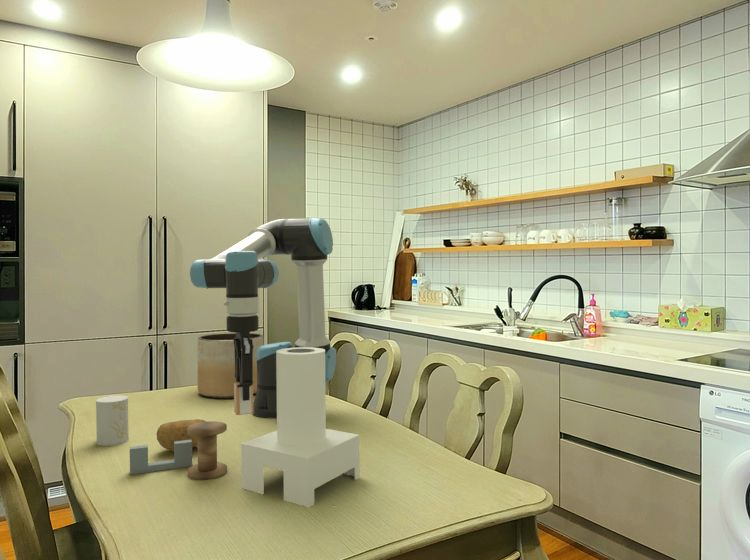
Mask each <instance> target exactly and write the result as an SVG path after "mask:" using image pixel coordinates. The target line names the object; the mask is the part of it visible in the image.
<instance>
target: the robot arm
mask: <svg viewBox="0 0 750 560" xmlns="http://www.w3.org/2000/svg"><path fill="white" fill-rule="evenodd" d="M333 246H334V239H333V233H332V229H331V227H330V225H329V223H328V222H327V220H325V219H324V218H318V217H316V218H315V217H309V218H308V217H307V218H281V219H279V218H278V219H275V220H272V221H269V222H267V223H264V224H262V225H260V226H258V227H256V228H254V229H252V230H251V231H250V232H249V233H248V235H247V237H245V238H244V239H242V240H241V241H239V242H237V243H236V244H234V245H232V246H230V247H229V248H227V249H226V250H224V251H223V252H220V253H219V254H217V255H216V256H213V257H212V258H209V259H206V258H203V259H196V260H194V261H193V262H192V264H191V265H190V269H189V278H190V281H191V284H192V285H193V286H194V287H195V288H202V289H206V290H207V289H225V290H226V292H225V297H226V301H223V305H224V306H226V314H227V315H228V316H226V331H227V333H236V338H234V340H233V342H234V354H235V378H236V382H238V383H240V385H237V388H238V387H239V405H240V414H244V415H248V414H247V413H252V408H251V385H253V342H252V339H250V333H255V332H256V331H257V332H258V330H259V327H260V326H259V316H258V314H259V289H267V288H269V287H272V286H273V285H275V283H276V282H277V281H278V279H279V275H280V274H279V268H278V266H277V265H276V263H275V262H274V261H273V260H271V259H267V258H269V257H270V256H274V255H290V256H291V257H290V258H291V259H290V260H291V261H292V262H293V263H292V264H294V265H295V266H296V285H297V286H296V289H297V290H296V291H297V310H298V311H297V312H298V331H299V332H298V334H299V336H298V337H299V338H298V339H296V341H295V342H294V346H293V344H292V342H291V341H282V342H272V343H267V344H263V346H261V347H259V348H258V350H257V359H256V361H257V392H256V394H255V396H254V398H253V414H252V415H253V416H256V417H260V418H277V378H276V351H277V350H280V349H285V348H296V347H313V348H322V349H325V384H326V383H328V382H330V381H331V379H333V376H334V373H335V370H336V366H337V360H338V359H337V357H338V356H337V350H336V348H335V347H332V346H331V340H330V339H328V338H327V336H326V317H325V290H324V289H325V288H324V286H325V285H324V264H325V263H326V262H327V261H328V255H331V254H332V252H333Z"/></svg>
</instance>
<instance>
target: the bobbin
mask: <svg viewBox="0 0 750 560" xmlns="http://www.w3.org/2000/svg"><path fill="white" fill-rule="evenodd" d="M227 427H228V426H227V424H226V423H225V422H222V421H210V420H209V421H206V422H200V423H196V424H192V425H190V426H188V427H187V434H188V435H191V436H197V444H198V445H197V463H196V464H194V465H192V466H190V467H188V469H187V477H188V478H189V479H191V480H199V481H203V480H204V481H205V480H206V481H207V480H212V479H213V480H214V479H217V478H221V477H222V476H225V475H226V473H227V472H228V465H227V464H226V463H223V462H219V461H218V439H217V438H218V437H217V436H218V435H220V434H224V433H225V432H226V431H227V430H228V428H227Z"/></svg>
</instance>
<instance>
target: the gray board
mask: <svg viewBox="0 0 750 560" xmlns="http://www.w3.org/2000/svg"><path fill="white" fill-rule="evenodd" d="M173 456H174V459H171V460H161V461H154V462H149V445H148V444H143V445H135V446H129V475H130V476H131V475H136V474H145V473H151V472H152V473H153V472H160V471H167V470H174V469H181V468H187V467H188V468H190V467H191V466H193V448H192V440H184V441H175V442H174V451H173Z"/></svg>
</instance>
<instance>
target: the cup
mask: <svg viewBox="0 0 750 560" xmlns="http://www.w3.org/2000/svg"><path fill="white" fill-rule="evenodd" d="M95 408H96V409H95V411H96V414H95V415H96V416H95V417H96V419H95V420H96V422H95V423H96V444H97V445H98V446H102V447H103V446H104V447H110V446H116V445H117V446H118V445H121V444H125V443H126V442H128V441H129V440H130V439H129V438H130V437H129V436H130V435H129V433H130V431H129V397H128V396H127V395H108V396H103V397H100V398H97V399H96V400H95Z"/></svg>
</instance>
